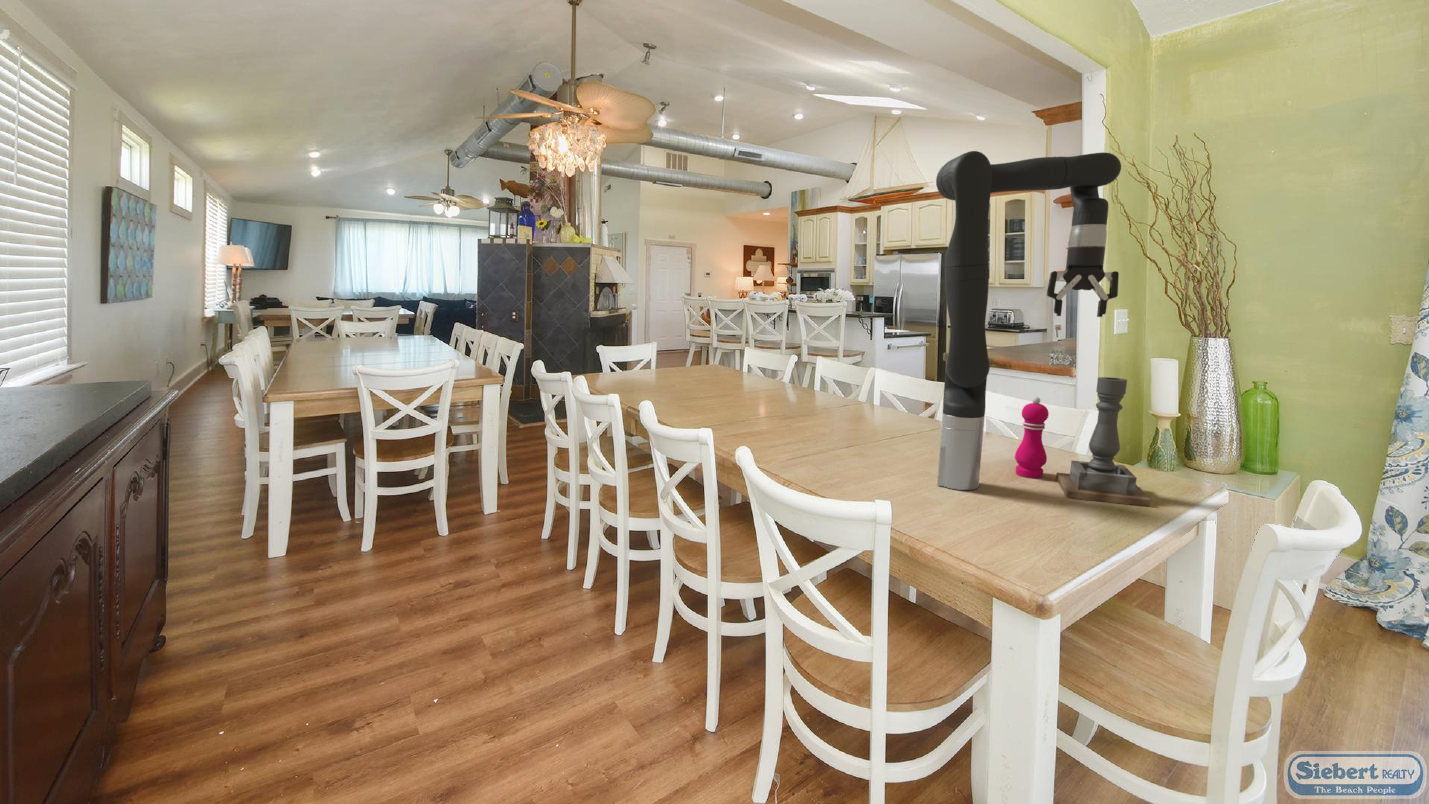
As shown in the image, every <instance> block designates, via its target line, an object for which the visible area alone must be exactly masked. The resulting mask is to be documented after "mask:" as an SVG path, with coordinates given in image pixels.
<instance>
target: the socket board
mask: <svg viewBox="0 0 1429 804" xmlns="http://www.w3.org/2000/svg"><path fill="white" fill-rule="evenodd" d="M1088 462H1089V461H1080V460H1071V462H1070V473H1064V472H1056V476H1055V479H1056V481H1057V483H1058V484H1059V487H1060V489H1061V490H1062V491H1063V494H1064V496H1065V498H1067V499H1076V500H1084V501H1095V502H1103V503H1112V504H1113V503H1114V504H1120V505H1121V504H1122V505H1130V504H1133V505H1132V506H1140V505H1141V507H1151V501H1152V499H1151V498H1149V496H1148V495H1147V494H1145V492H1144V491H1143V490H1142V489H1141V488H1140V487H1139V486H1138V485H1137V477H1136V475H1134V474H1133V472H1132V471H1130V470H1129V468H1128V467H1127V466H1125V464H1115V463H1114V465H1116V470H1114V471H1115V472H1116V473H1117V474H1108V473H1098V472H1087V471H1086V469H1087V468H1089V466H1088Z"/></svg>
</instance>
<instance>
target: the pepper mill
mask: <svg viewBox="0 0 1429 804" xmlns="http://www.w3.org/2000/svg"><path fill="white" fill-rule="evenodd" d="M1049 414H1050V413H1049V409H1048V408H1047V407H1046V406H1045V405H1044V404H1042V403H1041V399H1040V397H1039V396H1036V397H1033V398H1032V402H1030V403H1027V404H1026V405H1024V406H1023V408H1022V410H1021V416H1022V419H1024V421H1023V422H1022V428H1024V429H1023V430H1024V432H1023V437H1022V441H1020V442H1021V443H1019V445H1018V447H1017V449H1016V451H1015V454H1014V460H1015V461H1016V463H1017V464H1018V465H1016V466H1015V474H1016V475H1017V476H1019V477H1023V478H1027V479H1028V478H1029V479H1040V478H1042V477H1043V476H1044V469H1043V468H1042V467H1043V466H1044V465H1046V463H1047V457H1048V456H1047V452H1046V450H1045V447H1044V444H1043V439H1042V437H1043V431H1044V430H1045V429H1046V428H1045V426H1046V423H1045V421H1047V420H1048V418H1049Z"/></svg>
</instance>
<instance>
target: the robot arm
mask: <svg viewBox="0 0 1429 804" xmlns="http://www.w3.org/2000/svg"><path fill="white" fill-rule="evenodd" d="M1121 171H1122V163H1121V160H1120V158H1118V156H1116V155H1115V154H1113V153H1111V152H1104V151H1103V152H1095V153H1094V152H1093V153H1087V154H1079V155H1073V156H1072V155H1071V156H1045V157H1043V156H1042V157H1033V158H1028V159H1022V160H1018V161H1017V160H1016V161H1011V162H1005V163H1004V162H1003V163H996V164H995V163H994V164H991V162H990V160H989V159H988V157H987V156H986V155H985V154H984V153H982V152H981V151H979V150H978V151H977V150H971V151H967V152H964V153H962V154H960V155H959V156H958V155H957V157H953V159H951V160H949V161H947V162H946V163H945V164H944V165H943V166H941V168H940V169H939V170H938V172H937V174H936V178H935V179H936V180H935V185H936V188H937V191H938V193H939V194H940V195H941V196H942V197H943V198H945V199H947V200H949V201H950V200H951V201H954V202H955V217H954V218H955V220H954V226H953V230H952V233H951V237H950V239H949V242H948V246H947V249H946V253H945V259H944V288H945V299H946V307H947V312H948V318H949V329H950V330H949V331H950V332H949V345H948V346H949V347H948V348H949V349H948V355H947V358H946V362H945V370H944V371H945V372H944V383H943V384H944V385H943V386H944V387H943V401H942V402H943V403H942V418H941V419H942V420H941V429H940V431H941V432H940V433H941V434H940V443H939V445H940V446H939V455H938V457H939V458H938V469H937V470H938V471H937V485H936V486H939V487H944V488H948V489H952V490H958V491H970V490H971V491H972V490H976V489H978V488H979V484H980V475H981V474H980V473H981V461H982V451H983V441H984V440H983V439H984V429H985V428H984V426H985V414H986V392H987V380H988V375H989V372H990V366H991V365H990V360H989V355H988V354H989V353H988V347H987V335H986V317H987V310H988V299H989V282H990V280H989V279H990V270H989V269H990V268H989V267H990V265H989V264H990V261H989V215H990V214H989V213H990V203H991V193H992V194H993V193H994V194H995V193H1003V192H1004V193H1005V192H1022V191H1023V192H1025V191H1026V192H1028V191H1030V192H1031V191H1032V192H1033V191H1054V190H1055V191H1056V190H1062V189H1063V190H1064V189H1067V188H1069V189H1070V197H1071V203H1072V207H1073V210H1072V218H1071V227H1070V228H1071V229H1070V232H1069V235H1068V242H1067V252H1066V253H1067V255H1066V264H1065V270H1064V272H1060V271H1059V272H1058V271H1055V270H1054V271H1051V272H1050V273H1049V277H1048V278H1049V279H1048V286H1047V289H1046V291H1047V292H1046V296H1047V297H1048V298H1052V299H1053V300H1054V303H1053V304H1054V306H1053V313H1054V314H1056V317H1061V316H1062V312H1063V311H1062V309H1063V308H1062V307H1063V301H1064V300H1062V298H1064V297H1065V296H1066V295H1067V294H1068V293H1069V292H1070V291H1071V290H1073V291H1081V290H1082V291H1083V290H1084V291H1092V290H1093V292H1094V293H1095V294H1096V295H1097V296H1098V298H1099V300H1098V305H1097V312H1096V317H1097V318H1103V315H1106V313H1107V306H1108V300H1111V299H1115V298H1118V294H1119V278H1120V277H1119V274H1120V273H1119V271H1116V270H1114V271H1109V272H1107V271H1106V272H1105V270H1104V264H1105V263H1104V262H1105V254H1106V246H1107V235H1108V231H1107V229H1108V228H1107V225H1108V216H1109V202H1108V200H1107V199H1105V198H1102V197H1100V196H1099V195H1100V194H1099V187H1103V186H1107V185H1109V184H1111V183H1112V182H1114V181H1115V180H1116V179H1117V178H1118V177H1119V175H1120V174H1121ZM1062 277H1063V279H1064V281H1065V282H1066V284H1065V285H1064V286H1063V287H1062V288H1061V289H1060V290H1059V291H1058V293H1057V292H1056V291H1055V290H1056V283H1057V282H1058V281H1060V280H1061V278H1062ZM1104 278H1106V281H1107V282H1109V293H1106V291H1105V290H1104V288H1103V287H1102V285H1101V284H1100V282H1102V280H1103V279H1104Z"/></svg>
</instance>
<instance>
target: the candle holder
mask: <svg viewBox="0 0 1429 804" xmlns="http://www.w3.org/2000/svg"><path fill="white" fill-rule="evenodd" d="M1096 383H1097V384H1096V391H1095V392H1096V393H1097V397H1098V399H1099V401H1098V402H1097V403H1096V404H1095V407H1096V408H1097V410H1098V411H1097V412H1098V413H1097V422H1096V425H1095V428H1094V430H1093V433H1092V435H1091V438H1090V439H1089V443H1088V448H1089V450H1090V453H1091V457H1092V458H1091V459H1090V461H1087V462H1088V466H1089V468H1087V469H1086V471H1087V472H1098V473H1108V474H1117V473H1116V472H1115V471H1114V470H1116V465H1117V464H1116V465H1114V464H1115V462H1114V460H1115V457H1116V456H1117V455H1118V453H1119V452H1120V449H1121V445H1120V438H1119V431H1118V418H1119V412H1120V411H1121V410H1123V407H1124V406H1123V405H1122V404H1121V402H1122V400H1123V399H1124V398H1125V395H1126V393H1127V383H1128V379H1126V378H1121V377H1112V376H1111V377H1110V376H1109V377H1107V376H1100V377H1097V382H1096Z"/></svg>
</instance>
